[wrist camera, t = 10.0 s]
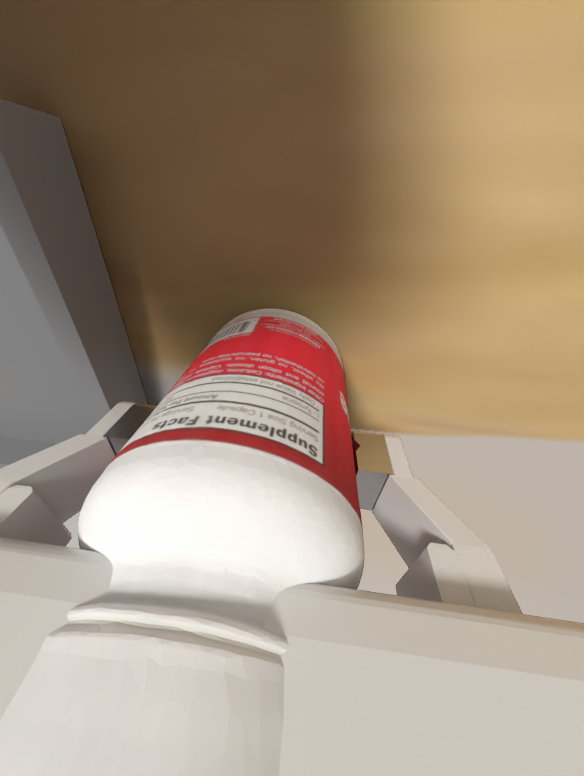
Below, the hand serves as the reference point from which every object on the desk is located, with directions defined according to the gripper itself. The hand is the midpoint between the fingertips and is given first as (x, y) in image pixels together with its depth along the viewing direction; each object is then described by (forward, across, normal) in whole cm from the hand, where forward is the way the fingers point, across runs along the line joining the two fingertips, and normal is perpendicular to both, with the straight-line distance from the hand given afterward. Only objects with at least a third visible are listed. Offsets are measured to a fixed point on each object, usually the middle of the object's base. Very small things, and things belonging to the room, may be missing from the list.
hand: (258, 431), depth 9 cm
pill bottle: (+4, 0, 0) cm, 4 cm away
